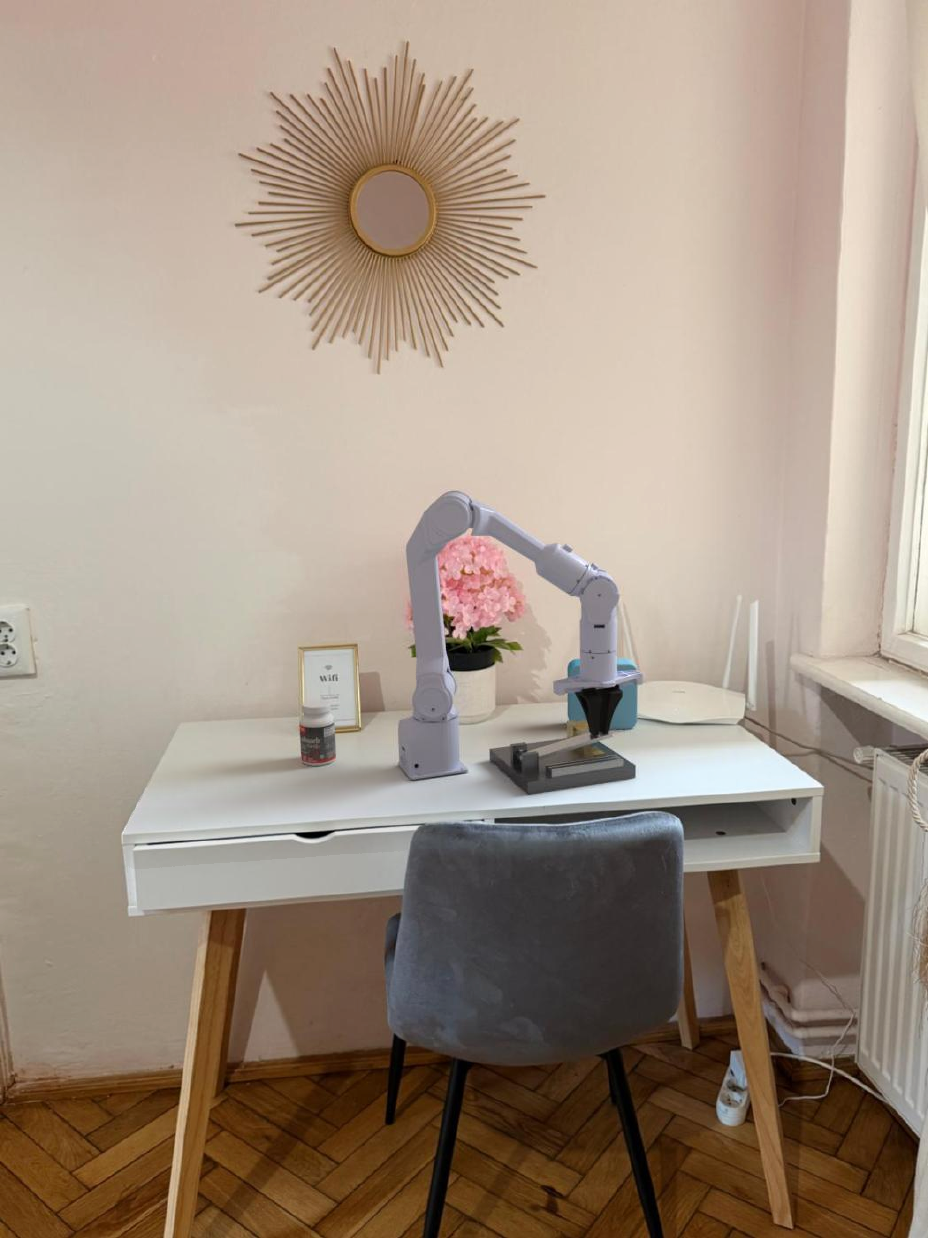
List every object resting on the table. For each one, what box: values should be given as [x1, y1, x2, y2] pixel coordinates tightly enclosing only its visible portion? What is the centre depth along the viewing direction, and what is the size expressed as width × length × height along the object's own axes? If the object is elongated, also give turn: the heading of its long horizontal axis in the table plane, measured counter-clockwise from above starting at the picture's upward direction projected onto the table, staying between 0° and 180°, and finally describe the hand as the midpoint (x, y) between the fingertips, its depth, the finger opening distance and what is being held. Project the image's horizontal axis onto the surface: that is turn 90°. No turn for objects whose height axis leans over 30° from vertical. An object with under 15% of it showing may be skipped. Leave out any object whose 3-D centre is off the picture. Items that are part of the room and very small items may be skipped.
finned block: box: [489, 737, 637, 796], centre depth 159 cm, size 18×16×5 cm
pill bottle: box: [299, 699, 337, 767], centre depth 165 cm, size 6×6×10 cm
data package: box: [566, 657, 639, 730], centre depth 179 cm, size 12×4×12 cm, turn 89°
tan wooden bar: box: [517, 731, 614, 762], centre depth 156 cm, size 15×3×1 cm, turn 109°
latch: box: [566, 719, 589, 739], centre depth 164 cm, size 3×7×3 cm, turn 19°
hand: (598, 733), depth 158 cm, fingers closed
